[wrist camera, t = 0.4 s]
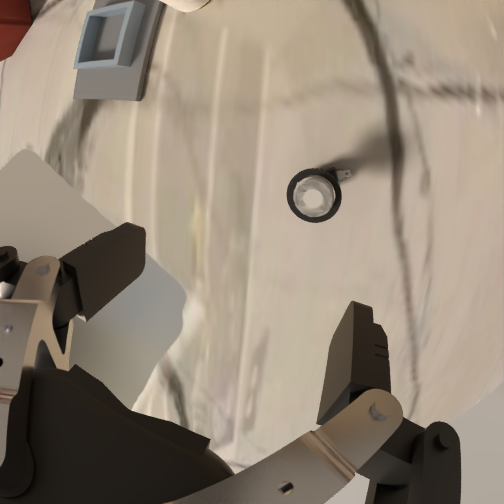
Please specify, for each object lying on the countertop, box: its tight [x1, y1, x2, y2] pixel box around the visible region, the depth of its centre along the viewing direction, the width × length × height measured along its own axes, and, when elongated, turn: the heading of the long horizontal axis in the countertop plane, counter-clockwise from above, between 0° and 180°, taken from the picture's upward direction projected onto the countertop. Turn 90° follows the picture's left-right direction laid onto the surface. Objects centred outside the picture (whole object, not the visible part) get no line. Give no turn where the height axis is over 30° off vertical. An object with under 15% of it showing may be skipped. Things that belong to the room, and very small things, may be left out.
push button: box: [287, 167, 351, 223], centre depth 30 cm, size 7×5×10 cm
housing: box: [73, 0, 164, 101], centre depth 31 cm, size 22×16×4 cm
